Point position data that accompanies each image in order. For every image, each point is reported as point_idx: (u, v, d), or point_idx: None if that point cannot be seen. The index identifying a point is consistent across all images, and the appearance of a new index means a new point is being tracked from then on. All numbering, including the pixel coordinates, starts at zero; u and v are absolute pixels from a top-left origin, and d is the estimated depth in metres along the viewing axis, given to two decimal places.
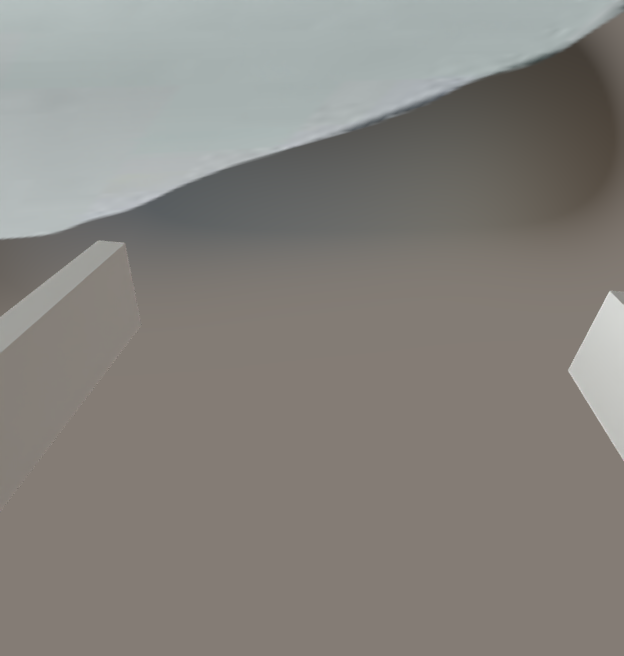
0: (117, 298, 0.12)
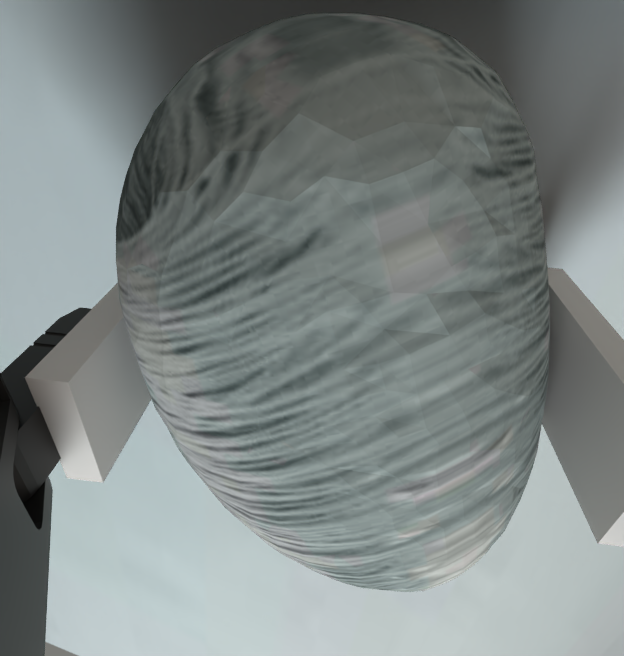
0: None
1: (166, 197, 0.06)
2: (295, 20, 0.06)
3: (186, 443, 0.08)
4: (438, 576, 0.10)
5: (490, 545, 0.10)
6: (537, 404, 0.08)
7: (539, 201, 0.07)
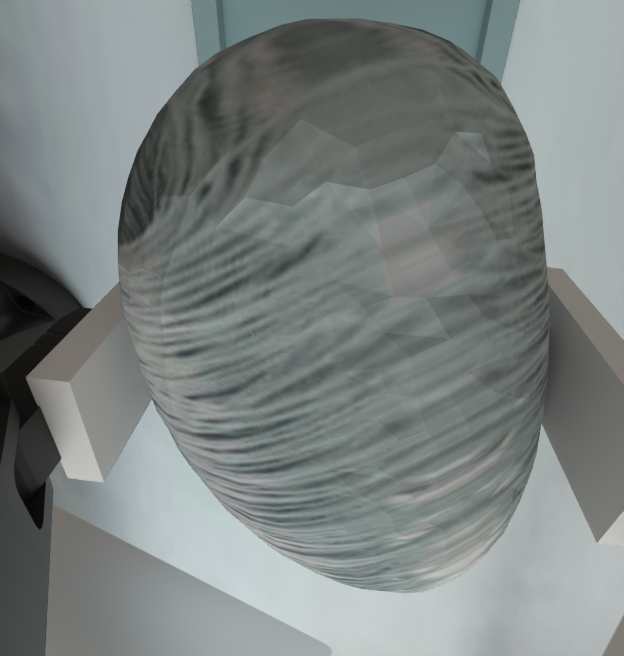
0: None
1: (168, 202, 0.06)
2: (296, 25, 0.06)
3: (187, 445, 0.08)
4: (438, 577, 0.10)
5: (490, 546, 0.10)
6: (536, 406, 0.08)
7: (539, 205, 0.07)
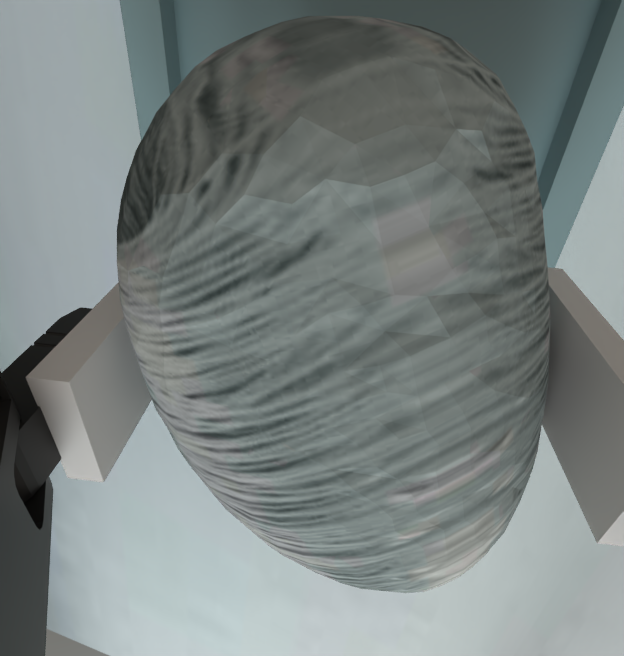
0: None
1: (167, 200, 0.06)
2: (296, 22, 0.06)
3: (186, 444, 0.08)
4: (438, 577, 0.10)
5: (490, 546, 0.10)
6: (537, 406, 0.08)
7: (539, 203, 0.07)
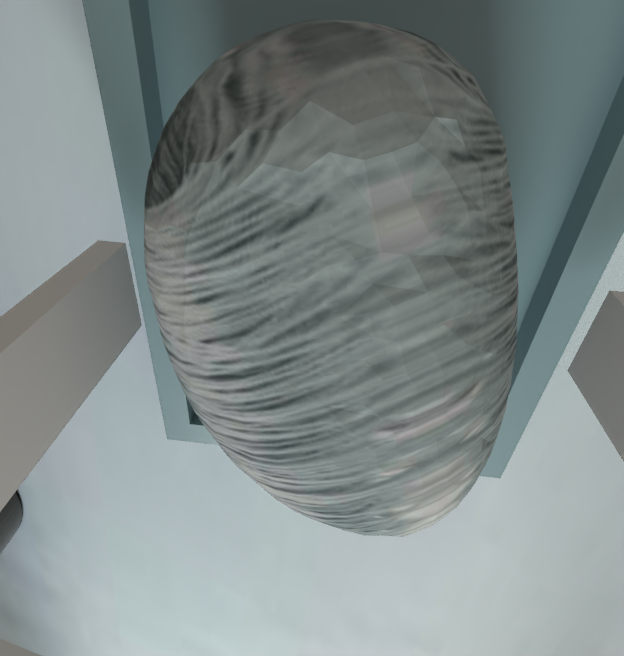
0: (117, 298, 0.12)
1: (196, 167, 0.07)
2: (307, 24, 0.07)
3: (198, 390, 0.10)
4: (415, 518, 0.11)
5: (462, 494, 0.11)
6: (504, 364, 0.10)
7: (508, 187, 0.09)
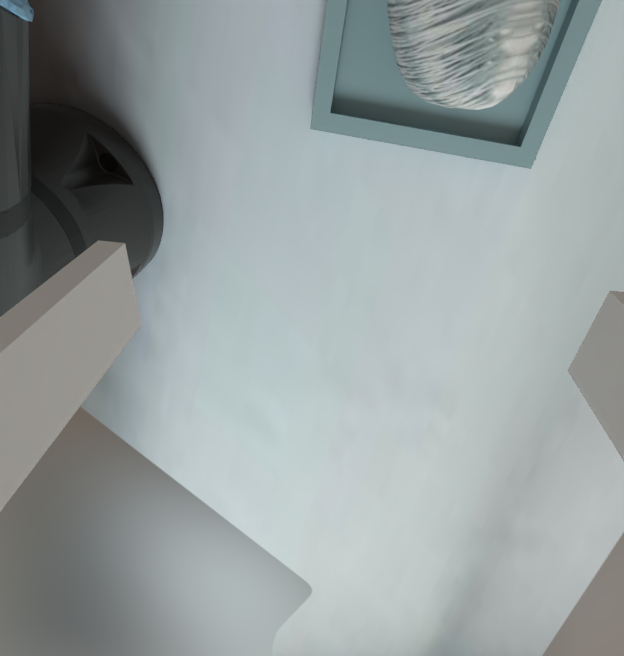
0: (117, 298, 0.12)
1: None
2: None
3: None
4: (507, 52, 0.21)
5: (530, 53, 0.21)
6: None
7: None
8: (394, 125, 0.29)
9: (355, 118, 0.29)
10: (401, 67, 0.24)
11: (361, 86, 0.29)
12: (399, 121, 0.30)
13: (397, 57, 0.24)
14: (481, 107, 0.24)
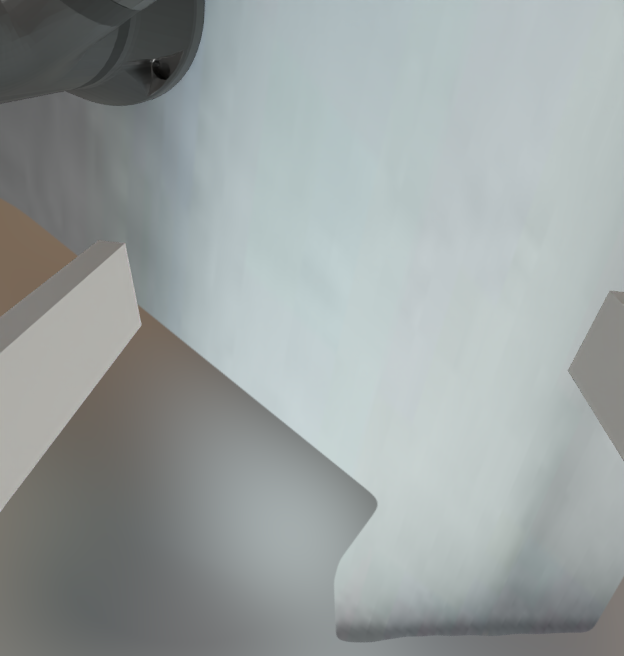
0: (117, 298, 0.12)
1: None
2: None
3: None
4: None
5: None
6: None
7: None
8: None
9: None
10: None
11: None
12: None
13: None
14: None
